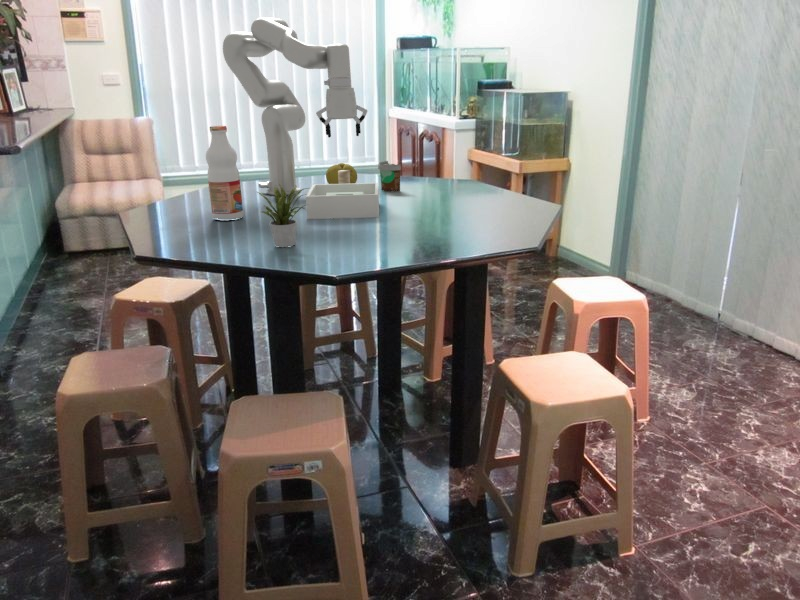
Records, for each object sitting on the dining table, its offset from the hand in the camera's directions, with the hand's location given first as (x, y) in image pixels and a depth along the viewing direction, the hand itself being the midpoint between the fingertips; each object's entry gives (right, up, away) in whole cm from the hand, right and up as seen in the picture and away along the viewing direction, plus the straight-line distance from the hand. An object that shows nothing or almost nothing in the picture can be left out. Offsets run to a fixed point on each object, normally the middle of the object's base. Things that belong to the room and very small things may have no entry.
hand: (343, 136), depth 222 cm
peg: (0, -21, +6) cm, 22 cm away
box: (+2, -27, -12) cm, 30 cm away
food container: (+15, -15, +23) cm, 31 cm away
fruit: (-2, -15, +24) cm, 29 cm away
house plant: (-9, -42, -53) cm, 68 cm away
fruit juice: (-34, -31, -20) cm, 50 cm away
